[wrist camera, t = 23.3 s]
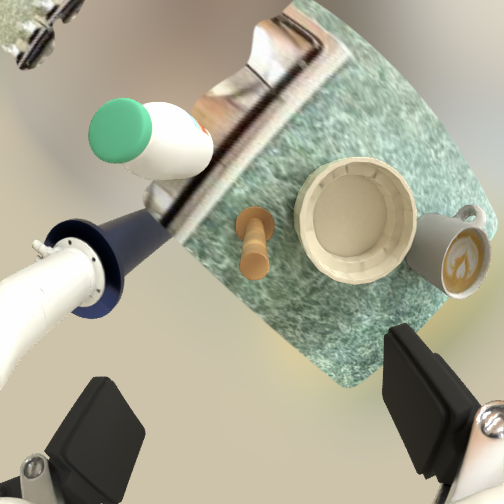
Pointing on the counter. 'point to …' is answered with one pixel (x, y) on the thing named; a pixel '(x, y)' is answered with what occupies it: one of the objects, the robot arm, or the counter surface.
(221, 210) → the counter surface
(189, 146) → the milk bottle
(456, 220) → the coffee mug
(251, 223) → the wooden masher
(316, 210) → the bowl
